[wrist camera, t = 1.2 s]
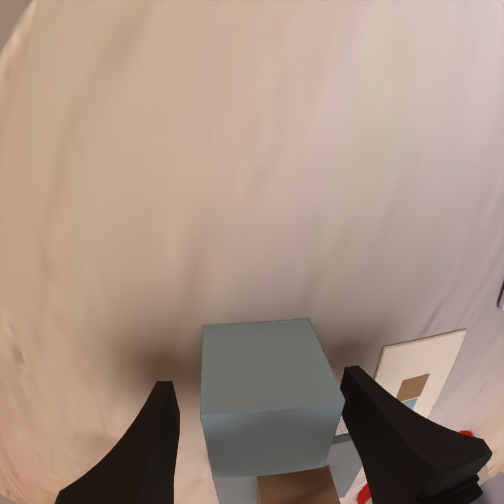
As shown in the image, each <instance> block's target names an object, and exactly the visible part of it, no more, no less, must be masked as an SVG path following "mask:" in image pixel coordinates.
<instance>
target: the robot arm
mask: <svg viewBox="0 0 504 504" xmlns="http://www.w3.org/2000/svg"><path fill="white" fill-rule="evenodd" d="M499 309H500V310H502V311H504V291H503V294H502V297H501V300H500V303H499ZM340 390H341V392H342V394H343V396H344V399H345V403H344V406H343V410H342V413H341V414H342V417H343V420H344V423H345V425H346V427H347V429H348V432H349V434H350V436H351V439H352V441H353V443H354V445H355V448H356V450H357V452H358V454H359V457H360V459H361V462H362V465H363V468H364V472H365V475H366V479H367V483H368V486H369V490H370V495H371V499H372V504H504V474H503V473H502V472H499V473H498V474H496V475H495V476H493V477H492V478H490V479H488V480H487V481H485V482H484V483H483V484H481V485H480V486H479V485H478V483H477V482H478V481H479V479H480V478H479V476H478V475H477V473H478V472H479V471H480V470H481V469H482V468H483V467H484V466H485V464H486V463H487V462H488V461H489V460H490V458H491V456H492V451H491V450H490V448H489V447H488V445H487V444H486V443H485V441H484V440H483V439H480V438H476V437H472V436H468V435H465V434H461V433H459V432H456V431H453V430H450V429H448V428H445V427H443V426H441V425H439V424H437V423H434V422H432V421H430V420H429V419H427V418H425V417H423V416H421V415H420V414H418V413H416V412H415V411H413V410H412V409H410V408H409V407H407V406H406V405H404V404H403V403H402V402H400V401H399V400H398V399H396V398H395V397H394V396H392V395H391V394H390V393H389V392H388V391H386V390H385V389H384V388H383V387H382V386H380V385H379V384H378V383H377V382H376V381H375V380H374V379H373V378H371V377H370V376H369V375H368V374H367V373H366V372H365V371H364V370H363V369H361V368H360V367H359V366H358V365H357V366H351V367H345V369H344V374H343V378H342V382H341V386H340ZM179 434H180V411H179V407H178V403H177V399H176V395H175V391H174V387H173V382H172V381H158V382H156V384H155V386H154V388H153V390H152V391H151V393H150V395H149V397H148V399H147V401H146V402H145V404H144V406H143V407H142V409H141V411H140V412H139V414H138V415H137V417H136V419H135V420H134V422H133V423H132V424H131V426H130V427H129V428H128V430H127V431H126V433H125V434H124V435H123V437H122V438H121V439H120V440H119V442H118V443H117V444H116V445H115V446H114V447H113V448H112V450H111V451H110V452H109V453H108V454H107V455H106V456H105V457H104V458H103V459H102V460H101V461H100V462H99V463H98V464H97V465H95V466H94V467H93V468H92V469H91V470H89V471H88V472H87V473H86V474H84V475H83V476H82V477H81V478H79V479H78V480H76V481H75V482H73V483H72V484H70V485H69V486H67V487H66V488H64V489H63V490H61V491H59V494H58V496H57V498H56V502H55V504H174V474H175V466H176V458H177V450H178V442H179Z"/></svg>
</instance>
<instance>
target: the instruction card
mask: <svg viewBox="0 0 504 504" xmlns="http://www.w3.org/2000/svg"><path fill="white" fill-rule="evenodd" d="M466 332H467V330H466V329H462V330H458V331H454V332H450V333H446V334H442V335H438V336H433V337H429V338H424V339H420V340H415V341H410V342H405V343H400V344H395V345H390V346H384V347H383V350H382V354H381V357H380V361H379V364H378V368H377V371H376V374H375V377H374V380H375V381H376V382H377V383H378V384H379V385H380V386H382V387H383V388H384V389H385V390H386V391H388V392H389V393H390V394H391V395H392V396H394V397H395V398H396V399H398V400H399V401H400V402H402V403H403V404H404V405H406V406H407V407H409V408H410V409H412V410H413V411H415V412H416V413H418V414H420V415H421V416H423V417H425V418H427V417H428V415H429V413H430V411H431V410H432V408H433V406H434V404H435V402H436V400H437V398H438V396H439V394H440V392H441V390H442V388H443V386H444V384H445V382H446V380H447V377H448V375H449V373H450V371H451V369H452V366H453V364H454V362H455V359H456V357H457V355H458V352H459V350H460V347H461V345H462V342H463V340H464V337H465V334H466Z"/></svg>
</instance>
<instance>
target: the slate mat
mask: <svg viewBox="0 0 504 504" xmlns="http://www.w3.org/2000/svg"><path fill="white" fill-rule="evenodd" d="M208 459H209V455H208ZM209 464H210V468H211V463H210V459H209ZM327 465H329V469H330V472H331V475H332V478H333V481H334V485H335V488H336V491H337V494H338V497H339V498H342V497H345V495H346V493H347V492H348V490H349V488H350V487H351V485H352V483H353V482H354V480H355V478H356V476H357V474H358V473H359V471H360V469H361V467H362V462H361V459H360V457H359V454H358V452H357V450H356V448H355V445H354V443H353V441H352V439H351V436H350V434H346V435H341V436H336V437H334V439H333V442H332V445H331V448H330V451H329V454H328V457H327V460H326V463H325V465H324V466H327ZM211 472H212V468H211ZM212 476H213V472H212ZM213 480H214V484H215V488H216V492H217V496H218V500H219V503H220V504H257V476H254V477H240V478H219V479H214V476H213Z"/></svg>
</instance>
